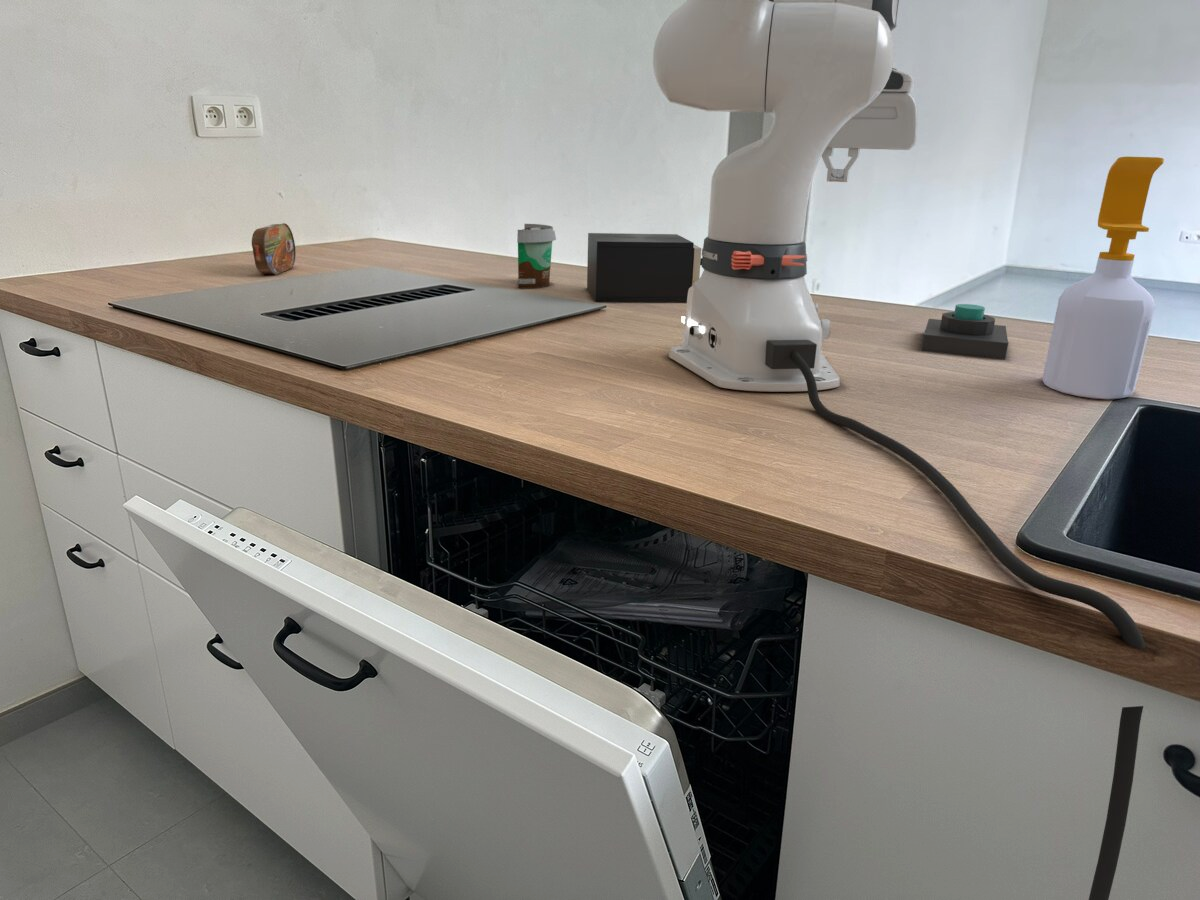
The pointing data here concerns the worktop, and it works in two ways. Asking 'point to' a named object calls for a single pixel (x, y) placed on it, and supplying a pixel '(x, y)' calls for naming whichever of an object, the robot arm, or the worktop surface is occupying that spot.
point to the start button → (969, 311)
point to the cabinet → (639, 267)
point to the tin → (273, 249)
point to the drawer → (696, 264)
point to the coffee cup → (534, 255)
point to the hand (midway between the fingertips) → (837, 181)
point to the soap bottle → (1106, 300)
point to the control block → (966, 337)
